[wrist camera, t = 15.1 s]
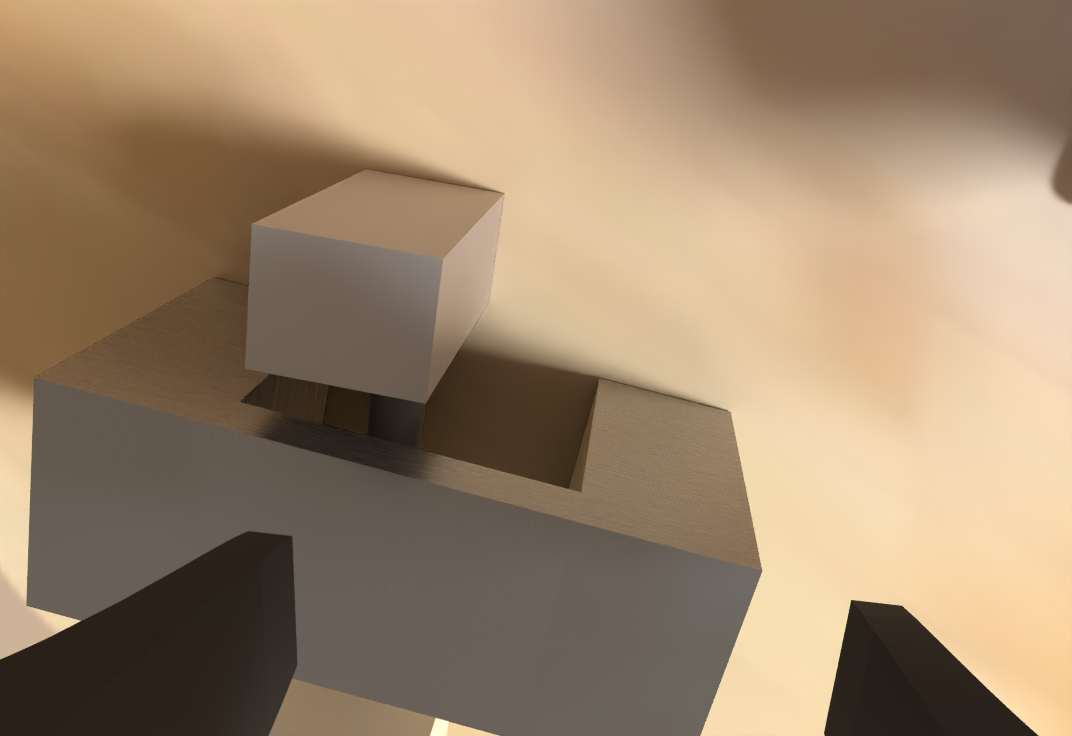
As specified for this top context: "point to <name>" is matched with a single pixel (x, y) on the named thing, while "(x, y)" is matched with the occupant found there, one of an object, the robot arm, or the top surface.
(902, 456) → the top surface
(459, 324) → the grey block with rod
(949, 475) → the top surface
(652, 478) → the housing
